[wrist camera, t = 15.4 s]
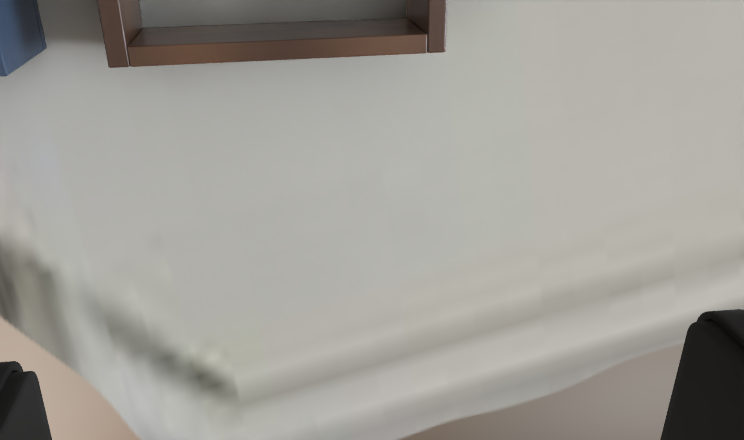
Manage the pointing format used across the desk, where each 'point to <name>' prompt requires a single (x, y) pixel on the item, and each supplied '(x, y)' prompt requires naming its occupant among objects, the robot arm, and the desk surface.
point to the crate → (268, 37)
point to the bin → (19, 34)
